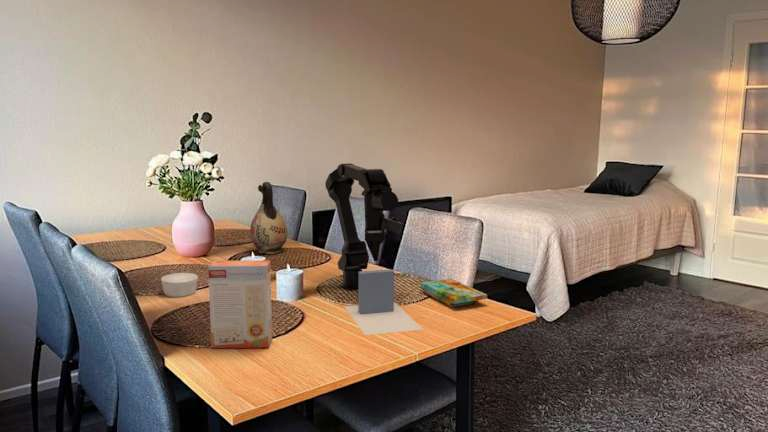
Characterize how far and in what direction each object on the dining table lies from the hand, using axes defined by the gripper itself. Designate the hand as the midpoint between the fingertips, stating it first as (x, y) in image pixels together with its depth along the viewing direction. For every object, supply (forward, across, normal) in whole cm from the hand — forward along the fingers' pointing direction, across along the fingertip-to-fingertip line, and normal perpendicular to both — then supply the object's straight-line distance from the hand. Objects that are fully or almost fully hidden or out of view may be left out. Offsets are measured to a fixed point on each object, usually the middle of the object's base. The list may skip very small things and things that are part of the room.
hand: (375, 261), depth 177 cm
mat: (+14, -15, -1) cm, 21 cm away
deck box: (+13, -10, +1) cm, 17 cm away
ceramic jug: (+4, +65, +44) cm, 78 cm away
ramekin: (+9, +8, +63) cm, 64 cm away
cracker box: (+15, -34, +34) cm, 50 cm away
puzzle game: (+14, +3, -23) cm, 27 cm away
